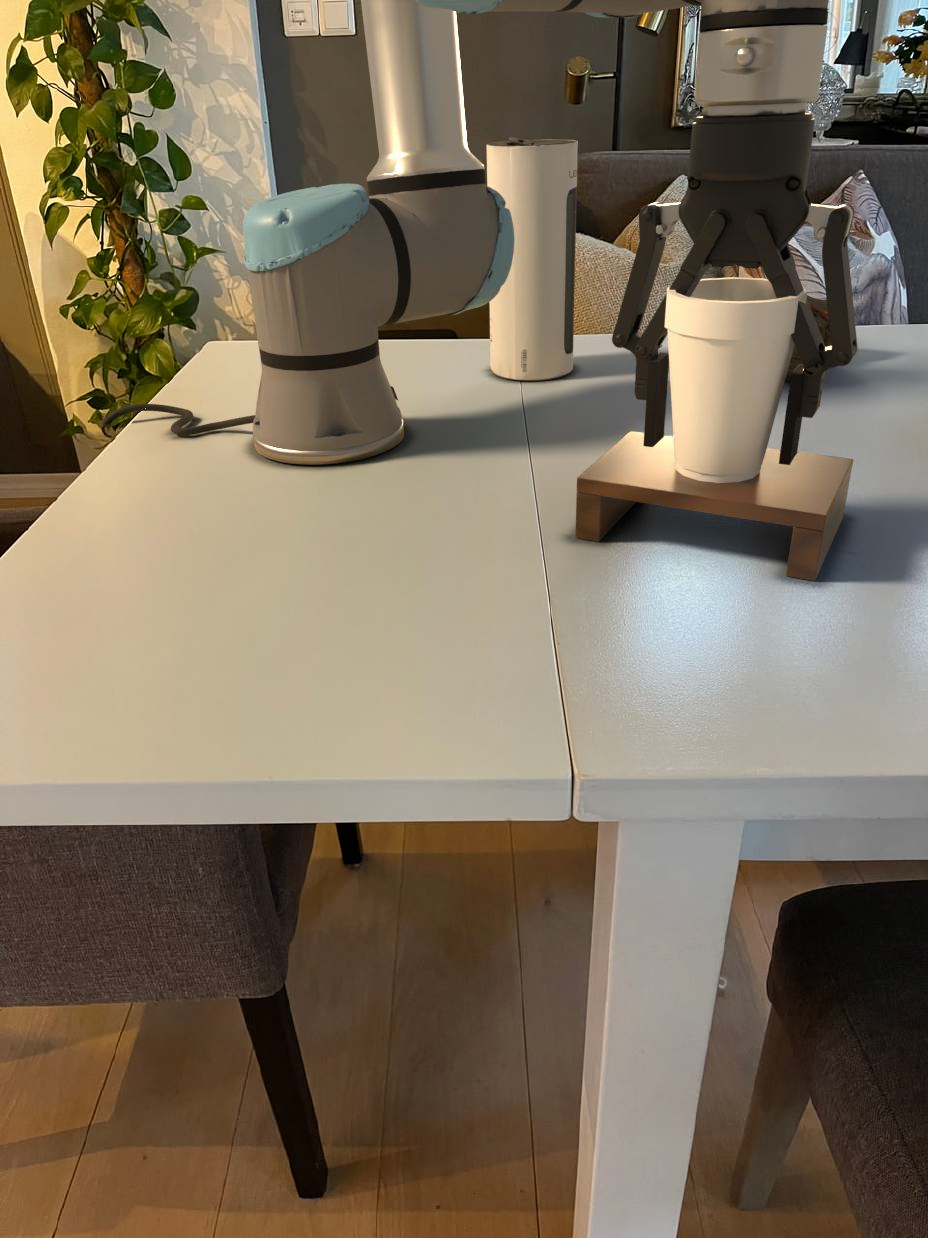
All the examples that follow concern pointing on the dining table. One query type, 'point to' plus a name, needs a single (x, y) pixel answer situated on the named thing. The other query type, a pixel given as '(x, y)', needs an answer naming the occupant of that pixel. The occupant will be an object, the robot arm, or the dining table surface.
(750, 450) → the foam cup
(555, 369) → the speaker
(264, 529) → the dining table surface
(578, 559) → the dining table surface
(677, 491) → the shelf
